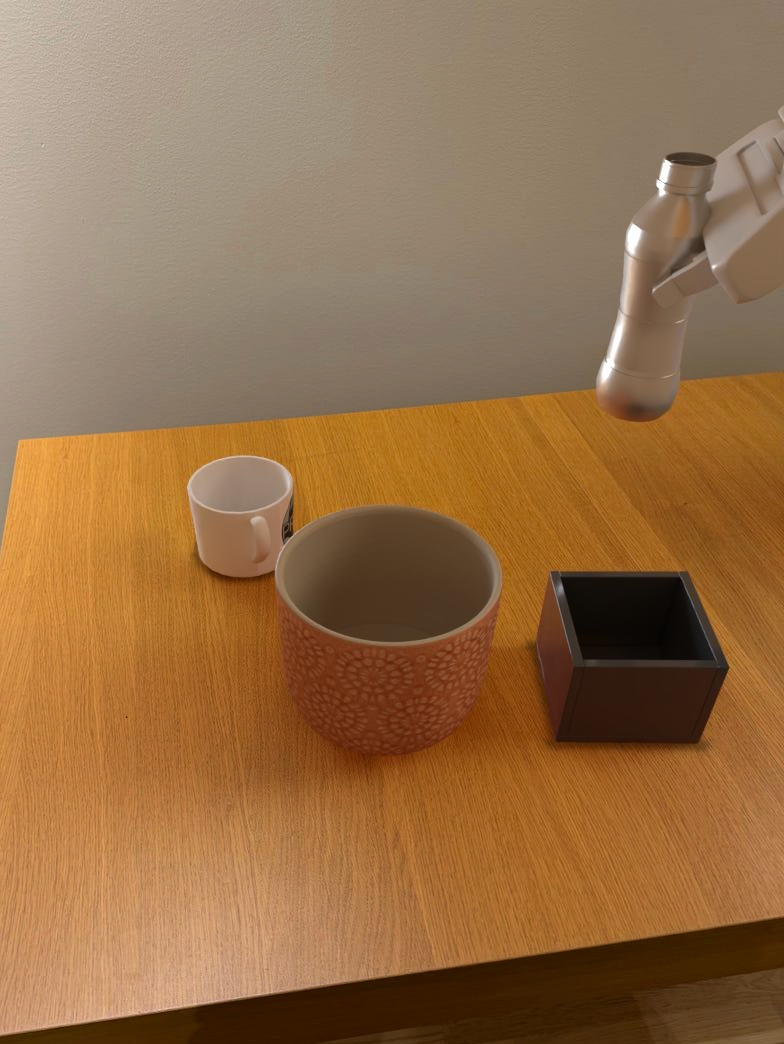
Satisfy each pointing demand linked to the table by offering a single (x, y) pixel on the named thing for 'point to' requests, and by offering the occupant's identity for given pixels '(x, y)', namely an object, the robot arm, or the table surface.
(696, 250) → the silver metal bottle
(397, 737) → the planter
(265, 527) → the mug
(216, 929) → the table surface
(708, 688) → the dark square storage bin
